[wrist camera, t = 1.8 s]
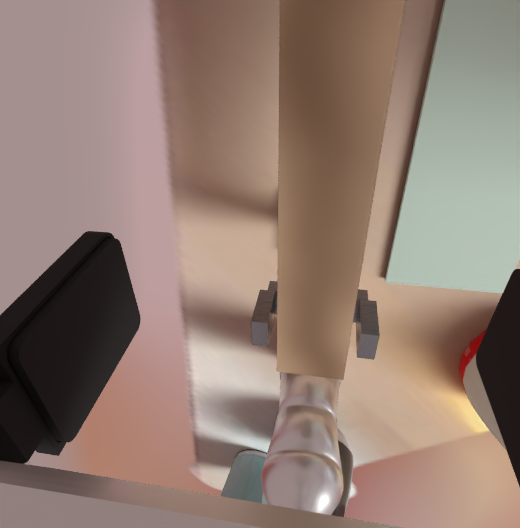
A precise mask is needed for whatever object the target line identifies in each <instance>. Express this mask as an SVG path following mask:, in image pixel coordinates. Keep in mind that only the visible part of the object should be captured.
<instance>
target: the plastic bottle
mask: <svg viewBox="0 0 520 528" xmlns="http://www.w3.org/2000/svg"><path fill="white" fill-rule="evenodd" d="M280 380H281V383H280V401H279V409H278V414H277V419H276V423H275V428H274V433H273V437H272V440H271V443H270V446H269V449H268V453H267V456H266V459H265V462H264V465H263V470H262V474H261V478H262V487H263V492H264V495H265V498H266V501H267V504H269V505H275V506H280V507H286V508H292V509H298V510H304V511H310V512H315V513H321V514H327V515H331V514H332V513H333V511H334V510H335V508H336V507H337V505H338V504H339V502H340V499H341V496H342V492H343V475H342V467H341V460H340V453H339V446H338V433H337V403H338V393H339V386H340V383H341V380H339V379H332V378H324V377H316V376H309V375H301V374H294V373H286V372H280Z"/></svg>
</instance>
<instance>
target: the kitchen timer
mask: <svg viewBox="0 0 520 528" xmlns="http://www.w3.org/2000/svg"><path fill="white" fill-rule="evenodd" d="M485 332H486V331H485ZM485 332H483V333H482V334H481V335H480V336H478V337H477V338H476V339H474V340H473V341H472V342H471V343H470V344H469V346H468V347H467V349H466V350H465V351H464V353H463V354H462V357H461V362H460V366H459V370H460V374H461V378H462V382H463V385H464V388H465V392H466V394H467V397H468V399H469V401H470V403H471V405H472V406H473V408H474V409H475V411H476V412H477V414H478V415H479V416H480V418H481V419H482V421H483V422H484V423H485V425H486V426H487V427H488V429H489V430H490V432H491V433H492V434H493V435H494V436H495V438H496V439H497V440H498V441H499V442H500V443H501V445H502V446H503V447H504V448H505V449H506V447H505V444H504V441H503V439H502V436H501V433H500V430H499V427H498V425H497V422H496V419H495V416H494V413H493V411H492V408H491V405H490V402H489V399H488V397H487V394H486V391H485V388H484V385H483V383H482V380H481V377H480V374H479V371H478V369H477V365H476V353H477V350H478V348H479V345H480V343H481V341H482V339H483V337H484V334H485Z"/></svg>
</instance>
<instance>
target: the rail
mask: <svg viewBox="0 0 520 528" xmlns="http://www.w3.org/2000/svg"><path fill="white" fill-rule="evenodd" d="M405 1H406V0H280V51H279V171H278V290H277V371H278V372H286V373H294V374H301V375H309V376H316V377H324V378H332V379H339V380H343V378H344V372H345V366H346V360H347V354H348V348H349V342H350V336H351V329H352V323H353V317H354V311H355V305H356V299H357V293H358V287H359V281H360V275H361V269H362V263H363V256H364V250H365V244H366V238H367V232H368V226H369V220H370V214H371V208H372V202H373V196H374V190H375V183H376V177H377V171H378V165H379V159H380V153H381V147H382V141H383V135H384V129H385V123H386V117H387V110H388V104H389V98H390V92H391V86H392V80H393V74H394V68H395V62H396V56H397V50H398V44H399V37H400V31H401V25H402V19H403V13H404V7H405Z"/></svg>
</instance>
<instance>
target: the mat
mask: <svg viewBox="0 0 520 528" xmlns="http://www.w3.org/2000/svg"><path fill="white" fill-rule="evenodd" d="M519 259H520V0H444V2H443V7H442V11H441V16H440V21H439V26H438V30H437V35H436V40H435V45H434V49H433V54H432V59H431V63H430V68H429V73H428V78H427V82H426V87H425V92H424V96H423V101H422V106H421V111H420V115H419V120H418V125H417V129H416V134H415V139H414V144H413V148H412V153H411V158H410V162H409V167H408V172H407V177H406V181H405V186H404V191H403V196H402V200H401V205H400V210H399V214H398V219H397V224H396V229H395V233H394V238H393V243H392V247H391V252H390V257H389V262H388V266H387V271H386V276H385V283H395V284H406V285H417V286H428V287H438V288H449V289H460V290H471V291H482V292H493V293H503V292H504V290H505V287H506V285H507V283H508V281H509V278H510V276H511V274H512V272H513V271H514V270H515V268H516V266H517V264H518V262H519Z"/></svg>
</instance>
